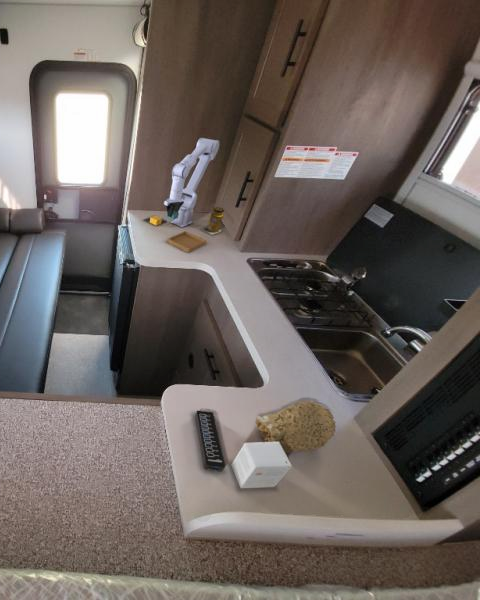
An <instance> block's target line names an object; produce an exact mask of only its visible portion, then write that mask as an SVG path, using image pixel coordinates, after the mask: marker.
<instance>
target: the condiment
mask: <svg viewBox="0 0 480 600" xmlns="http://www.w3.org/2000/svg"><path fill="white" fill-rule="evenodd" d="M224 212H225V209H224V208H223V207H220V206H219V207H218V206H215V207H213V209H212V211H211V213H210V216H209V221H208V225H207V227H204V228H201V229H200V230H202V231H203V232H205V233H207V234H210V235H212V236H213V235H215V234H219V233H220V232H223V230H222V229H220V228H221V225H222V221H223V219H224Z"/></svg>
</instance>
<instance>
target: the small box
mask: <svg viewBox="0 0 480 600" xmlns="http://www.w3.org/2000/svg"><path fill="white" fill-rule="evenodd" d="M230 466H231V468H232V470H233V472H234V475H235V478H236V481H237V483H238V485H239V488H240V489H259V488H260V489H261V488H262V489H263V488H275V487H276V486H277V485H278V483H279V482H280V481H281V480H282V479H283V478H284V477H285V475H286V474H287V473H288V472H289V471H290V470H291V469H292V467H293V466H292V464H291V462H290V459H289V458H288V456H287V453H285V452H284V450H283V448H282V446H281V445H280V443H279V441H277V442H265V441H259V442H258V441H256V442H255V441H253V442H244V443H243V444H242V447H241V448H240V450H239V451H238V453H237V455H236V456H235V458H234V459H233V461H232V463H231V465H230Z"/></svg>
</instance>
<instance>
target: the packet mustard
mask: <svg viewBox="0 0 480 600" xmlns="http://www.w3.org/2000/svg"><path fill="white" fill-rule="evenodd" d="M149 218H150V223H152V224H154V225H153V226H155V225H157V226H160V225H162V224H161V222H162V219H163V218H162V217H159V216H157V215H152V216H150V217H149ZM150 223H149V224H150ZM152 224H151V225H152Z"/></svg>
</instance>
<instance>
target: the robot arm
mask: <svg viewBox="0 0 480 600" xmlns="http://www.w3.org/2000/svg"><path fill="white" fill-rule="evenodd" d="M219 149H220V141H219V140H218V139H217V140H215V139H210V138H204V137H200V138H199V139H198V141H197V142H196V147H195V149H194V150H193V151H192V152H191V154H186V156H185V157H184V158H183V159H182V160H181V161H180V162H179V163H176V164H174V165H173V167H172V170H171V175H172V176H171V179H172V183H171V186H170V187H171V188H170V192H169V193H170V194H169V197H168V198H167V199H166V200H164V202H163V205H164V206H165V207H166V212H167V215H168V216H169V217H171V216H172V214H173V211H176V212H179V215H178V218H177V219H174V220H171V221H170V223H171V224H174V225H176V226H178V227H180V228H183V227H185V226H186V227H187V226H188V225H190V224H193V221H192V219H193V216H194V207H195V206H196V204H197V200H198V194H197V193H196V190H197V188H198V186H199V184H200V182H201V180H202V178H203V176H204V174H205V172H206V169H207V168H208V165H209V164H210V162H211V161H213V160H214V159H215V157H216V155H217V154H218V151H219ZM198 159H199V161H198V162H197V160H198ZM196 163H197V165H196ZM195 165H196V167H195V169H194V171H193V173H192V175H191V177H190V179H189V180H188V183H187V185H186V187H185V188H184V186H185V182H186V178H187V177H188V175H189V174H190V172H191V169H192V168H193V167H194V166H195Z"/></svg>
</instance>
